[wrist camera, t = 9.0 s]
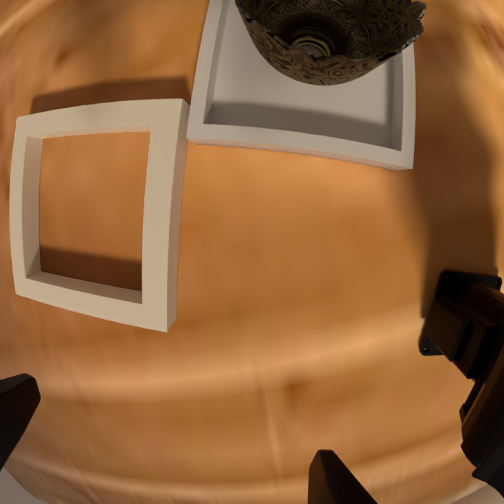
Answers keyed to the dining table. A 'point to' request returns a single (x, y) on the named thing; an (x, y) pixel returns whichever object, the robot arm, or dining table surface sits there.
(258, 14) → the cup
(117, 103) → the white flat square frame
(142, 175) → the dining table surface
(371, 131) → the grey tray
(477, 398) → the robot arm
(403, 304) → the dining table surface
